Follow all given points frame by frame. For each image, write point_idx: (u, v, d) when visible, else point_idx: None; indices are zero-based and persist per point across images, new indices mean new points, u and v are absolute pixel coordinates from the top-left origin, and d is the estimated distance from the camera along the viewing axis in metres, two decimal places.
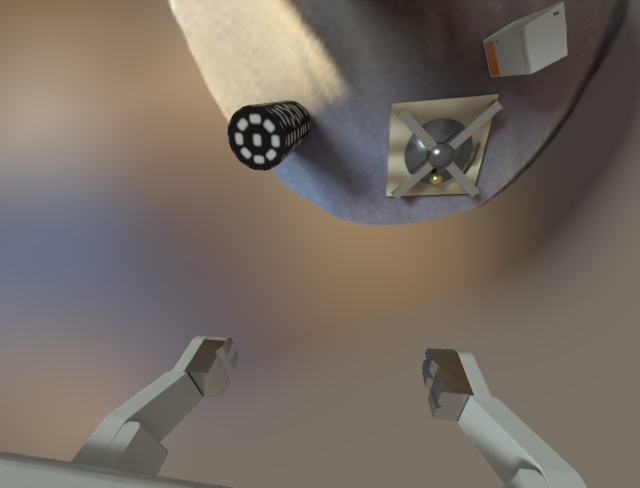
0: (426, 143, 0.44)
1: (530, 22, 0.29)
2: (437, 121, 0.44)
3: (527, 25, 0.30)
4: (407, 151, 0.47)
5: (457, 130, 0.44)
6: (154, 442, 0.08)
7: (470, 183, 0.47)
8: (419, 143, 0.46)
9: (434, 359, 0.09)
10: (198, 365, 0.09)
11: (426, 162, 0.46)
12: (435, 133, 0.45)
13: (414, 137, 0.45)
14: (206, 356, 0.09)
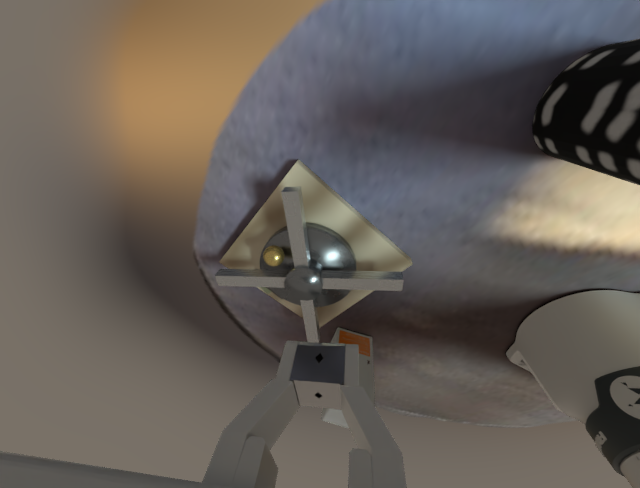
0: (335, 281, 0.27)
1: None
2: (346, 293, 0.31)
3: None
4: (343, 248, 0.27)
5: (317, 300, 0.32)
6: (272, 458, 0.07)
7: (238, 284, 0.30)
8: (339, 265, 0.28)
9: (322, 352, 0.09)
10: (302, 373, 0.08)
11: (309, 263, 0.27)
12: None
13: (352, 266, 0.28)
14: (307, 363, 0.09)
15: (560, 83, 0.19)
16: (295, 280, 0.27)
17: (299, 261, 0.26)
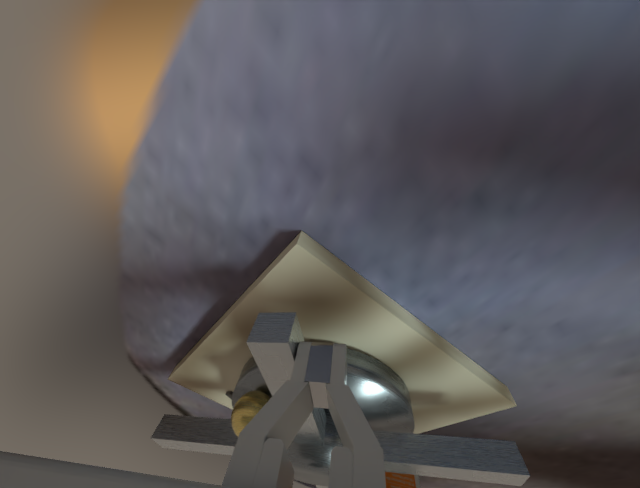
0: None
1: None
2: None
3: None
4: (391, 397, 0.13)
5: None
6: (289, 460, 0.07)
7: (195, 449, 0.16)
8: (382, 417, 0.15)
9: (309, 351, 0.09)
10: (317, 374, 0.08)
11: (323, 430, 0.13)
12: None
13: (408, 419, 0.14)
14: (322, 364, 0.09)
15: None
16: (298, 466, 0.14)
17: (304, 437, 0.13)
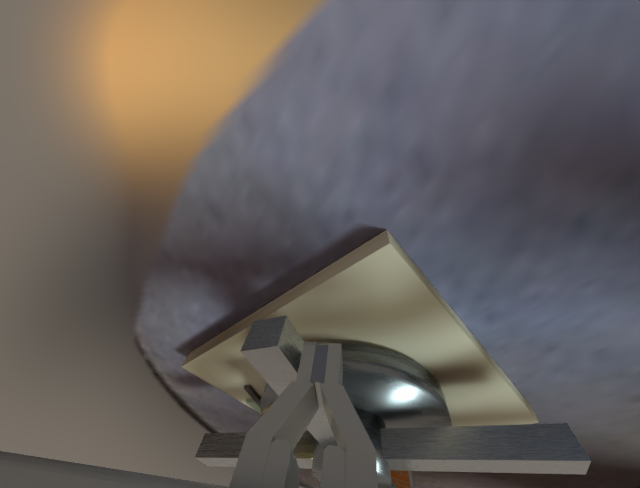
0: (415, 462, 0.13)
1: None
2: None
3: None
4: (414, 390, 0.13)
5: None
6: (296, 461, 0.07)
7: None
8: (413, 412, 0.14)
9: (304, 351, 0.09)
10: (323, 374, 0.08)
11: None
12: None
13: (441, 411, 0.13)
14: (327, 364, 0.09)
15: None
16: None
17: (330, 441, 0.13)
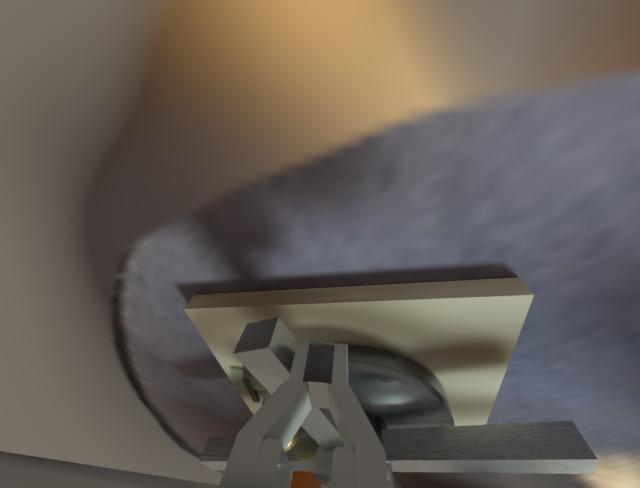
0: (417, 463, 0.12)
1: None
2: None
3: None
4: (414, 389, 0.12)
5: None
6: (287, 460, 0.07)
7: None
8: (414, 413, 0.14)
9: (311, 351, 0.09)
10: (315, 374, 0.08)
11: None
12: None
13: (443, 411, 0.13)
14: (320, 364, 0.09)
15: None
16: None
17: (330, 443, 0.12)
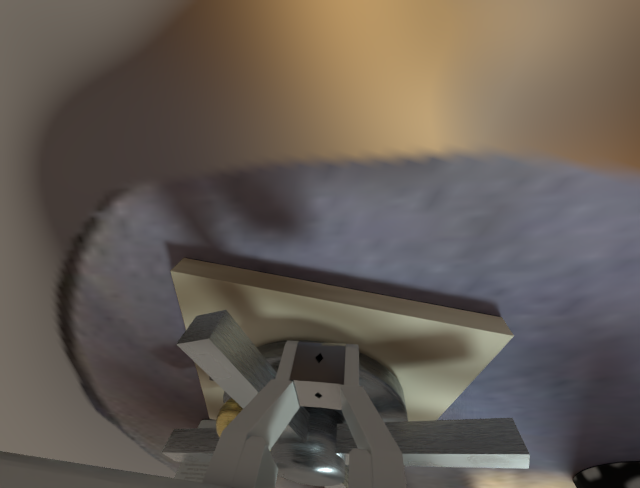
0: None
1: None
2: None
3: None
4: (366, 385, 0.13)
5: None
6: (272, 458, 0.07)
7: (202, 460, 0.17)
8: None
9: (322, 352, 0.09)
10: (302, 373, 0.08)
11: (304, 427, 0.13)
12: None
13: (395, 407, 0.14)
14: (307, 363, 0.09)
15: None
16: (287, 466, 0.13)
17: (282, 435, 0.13)
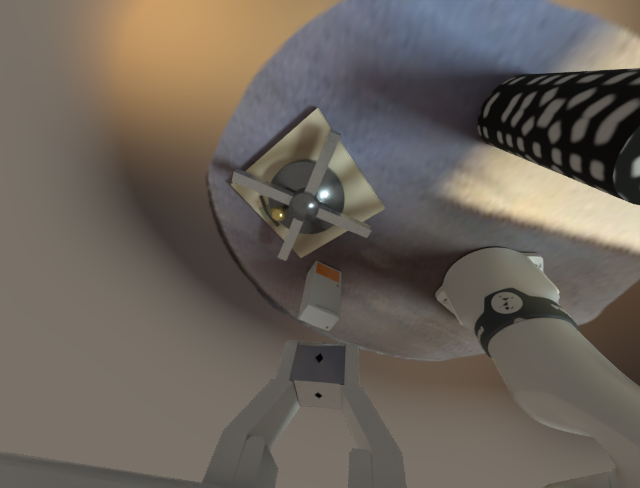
0: (310, 184, 0.34)
1: (337, 320, 0.39)
2: (338, 183, 0.36)
3: (338, 319, 0.39)
4: (294, 164, 0.35)
5: (335, 208, 0.38)
6: (272, 458, 0.07)
7: (289, 249, 0.41)
8: (308, 174, 0.35)
9: (322, 352, 0.09)
10: (302, 373, 0.08)
11: (291, 194, 0.36)
12: (325, 187, 0.36)
13: (313, 165, 0.35)
14: (307, 363, 0.09)
15: (497, 91, 0.30)
16: (296, 210, 0.36)
17: (284, 199, 0.36)
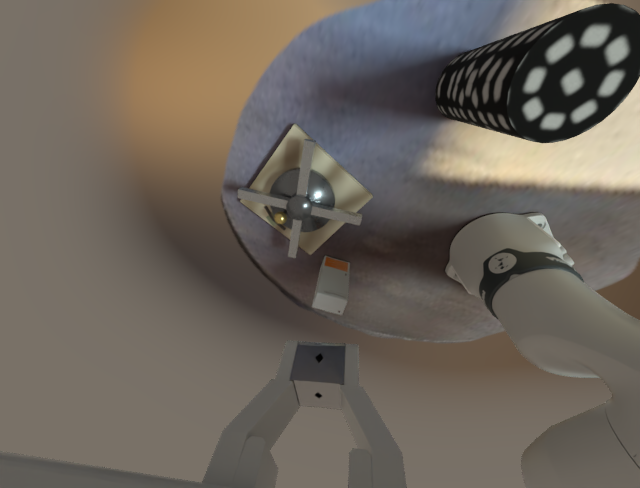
0: (300, 187, 0.40)
1: (346, 303, 0.43)
2: (324, 182, 0.41)
3: (346, 302, 0.43)
4: (285, 174, 0.41)
5: (327, 204, 0.43)
6: (272, 458, 0.07)
7: (296, 247, 0.47)
8: (298, 180, 0.41)
9: (322, 352, 0.09)
10: (302, 373, 0.08)
11: (287, 199, 0.42)
12: (314, 188, 0.42)
13: (300, 171, 0.41)
14: (307, 363, 0.09)
15: (444, 72, 0.33)
16: (293, 211, 0.42)
17: (282, 204, 0.42)
